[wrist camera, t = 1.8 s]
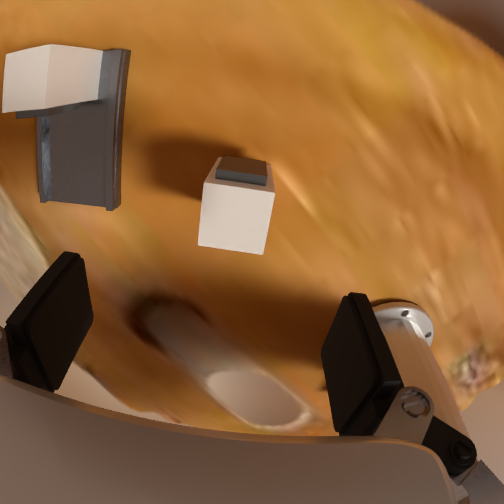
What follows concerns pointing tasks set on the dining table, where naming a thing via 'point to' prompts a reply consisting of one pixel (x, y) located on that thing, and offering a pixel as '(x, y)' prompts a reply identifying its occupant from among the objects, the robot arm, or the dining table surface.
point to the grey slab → (86, 143)
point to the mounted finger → (50, 80)
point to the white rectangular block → (237, 205)
